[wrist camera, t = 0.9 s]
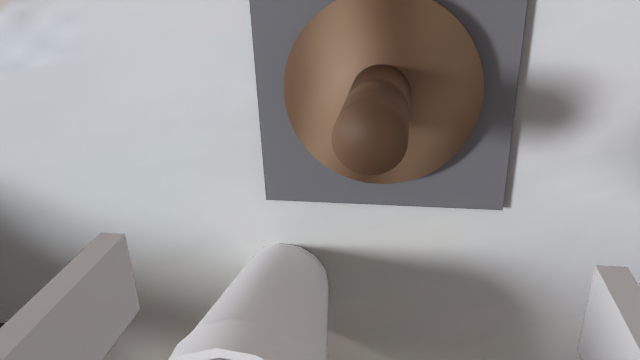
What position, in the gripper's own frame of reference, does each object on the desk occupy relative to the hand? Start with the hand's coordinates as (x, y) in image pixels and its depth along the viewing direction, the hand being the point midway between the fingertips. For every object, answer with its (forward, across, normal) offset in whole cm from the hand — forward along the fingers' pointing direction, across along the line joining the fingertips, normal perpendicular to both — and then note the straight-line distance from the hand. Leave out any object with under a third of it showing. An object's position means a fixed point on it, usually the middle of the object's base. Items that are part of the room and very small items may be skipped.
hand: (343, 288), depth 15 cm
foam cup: (+21, -7, -15) cm, 27 cm away
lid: (+20, 0, 0) cm, 20 cm away
